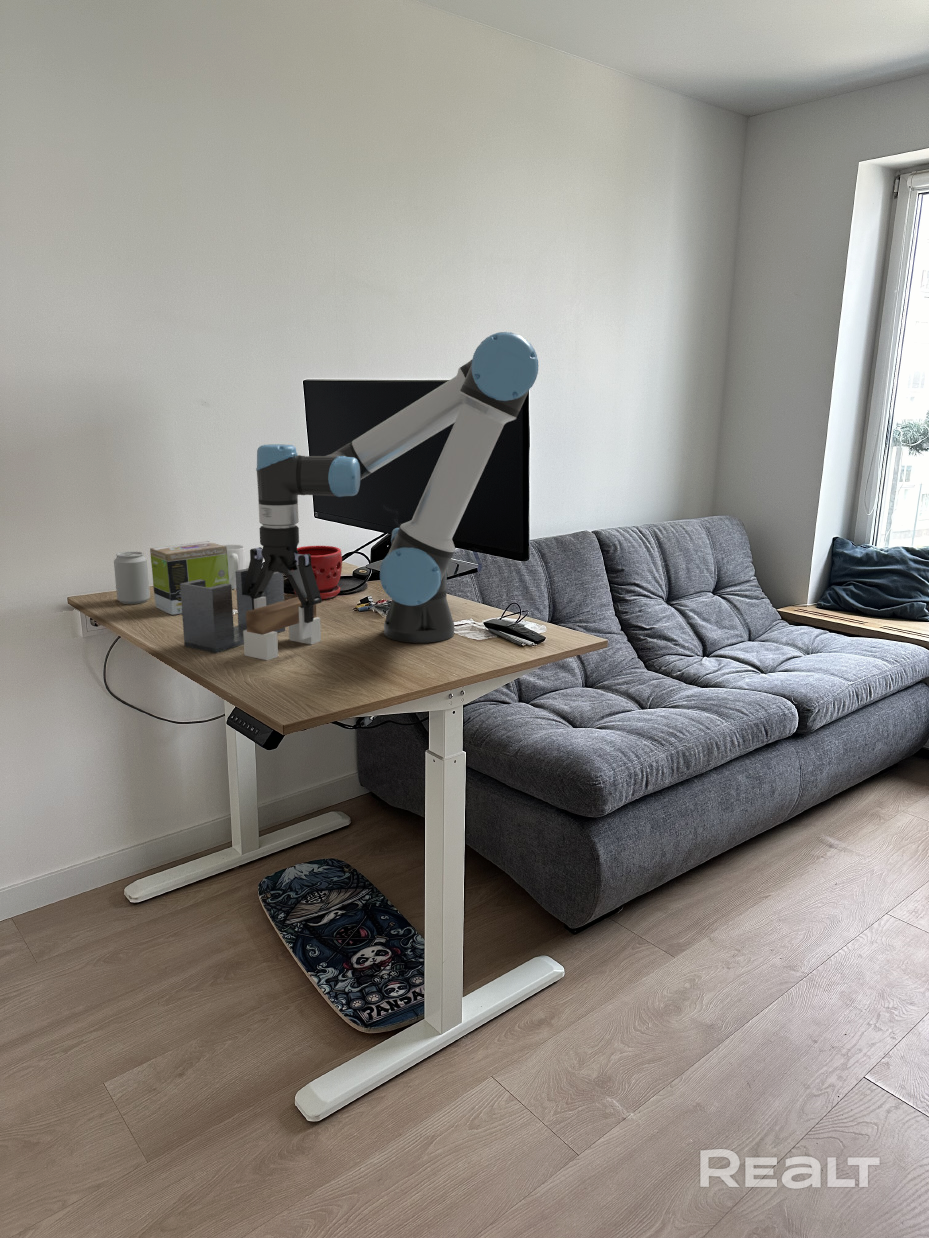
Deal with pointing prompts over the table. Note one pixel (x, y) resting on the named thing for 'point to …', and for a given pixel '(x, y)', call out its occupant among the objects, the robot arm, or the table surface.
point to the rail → (274, 616)
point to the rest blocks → (268, 644)
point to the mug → (235, 561)
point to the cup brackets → (221, 612)
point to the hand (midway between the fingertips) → (283, 633)
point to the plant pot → (325, 568)
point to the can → (131, 577)
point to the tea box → (186, 570)
